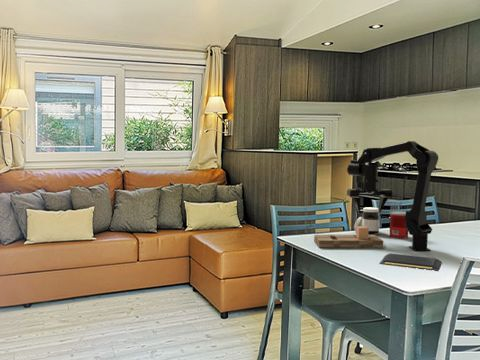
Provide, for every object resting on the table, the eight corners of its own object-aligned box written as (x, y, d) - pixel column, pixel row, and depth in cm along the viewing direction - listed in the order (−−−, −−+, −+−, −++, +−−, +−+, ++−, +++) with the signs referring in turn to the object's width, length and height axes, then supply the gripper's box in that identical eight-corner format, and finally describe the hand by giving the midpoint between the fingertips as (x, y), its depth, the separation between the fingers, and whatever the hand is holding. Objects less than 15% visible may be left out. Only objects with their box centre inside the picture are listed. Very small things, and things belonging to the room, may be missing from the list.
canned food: (410, 238, 210) (411, 214, 209) (392, 238, 210) (393, 214, 209) (404, 235, 218) (405, 211, 217) (387, 234, 218) (388, 211, 217)
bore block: (383, 248, 192) (383, 240, 192) (319, 248, 191) (319, 240, 191) (374, 241, 204) (374, 234, 203) (314, 241, 203) (314, 234, 203)
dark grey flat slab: (442, 257, 172) (438, 268, 159) (442, 262, 172) (438, 273, 159) (386, 251, 181) (377, 260, 168) (386, 256, 182) (377, 265, 168)
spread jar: (379, 235, 217) (380, 210, 216) (354, 234, 219) (354, 209, 218) (377, 230, 228) (378, 206, 227) (353, 229, 231) (354, 205, 230)
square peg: (368, 244, 196) (368, 228, 195) (358, 244, 196) (358, 228, 195) (365, 242, 200) (365, 226, 199) (356, 242, 200) (356, 226, 199)
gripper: (385, 175, 213) (383, 209, 215) (344, 175, 213) (343, 209, 214) (394, 177, 202) (392, 213, 204) (351, 177, 201) (349, 213, 203)
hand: (369, 212), depth 206 cm, fingers open, 9 cm apart
